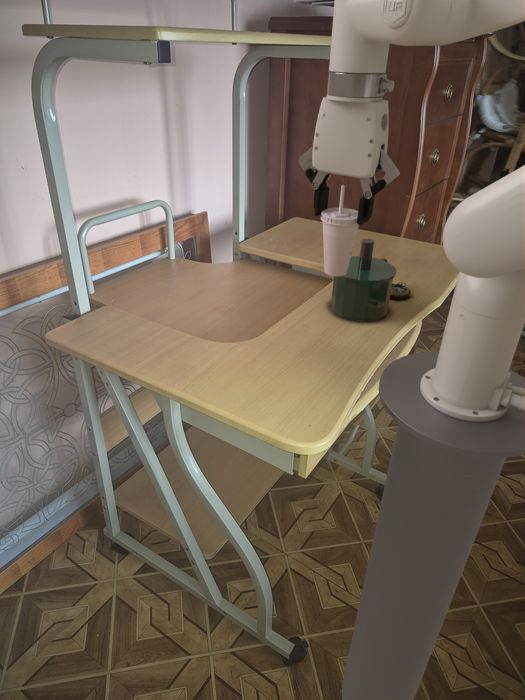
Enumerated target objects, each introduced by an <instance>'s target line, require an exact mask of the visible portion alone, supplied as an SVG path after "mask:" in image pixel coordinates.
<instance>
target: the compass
mask: <svg viewBox="0 0 525 700" xmlns="http://www.w3.org/2000/svg"><path fill="white" fill-rule="evenodd" d="M380 259H381V260H384V261H386V262H388V260H387V258H380ZM411 292H412V291H411V290H410V289H409V288H408V287H407V283H406V282H403V281H400V282H397V283H392V288H391V293H390V299H392V300H405V299H408V298H410V297H411Z"/></svg>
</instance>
